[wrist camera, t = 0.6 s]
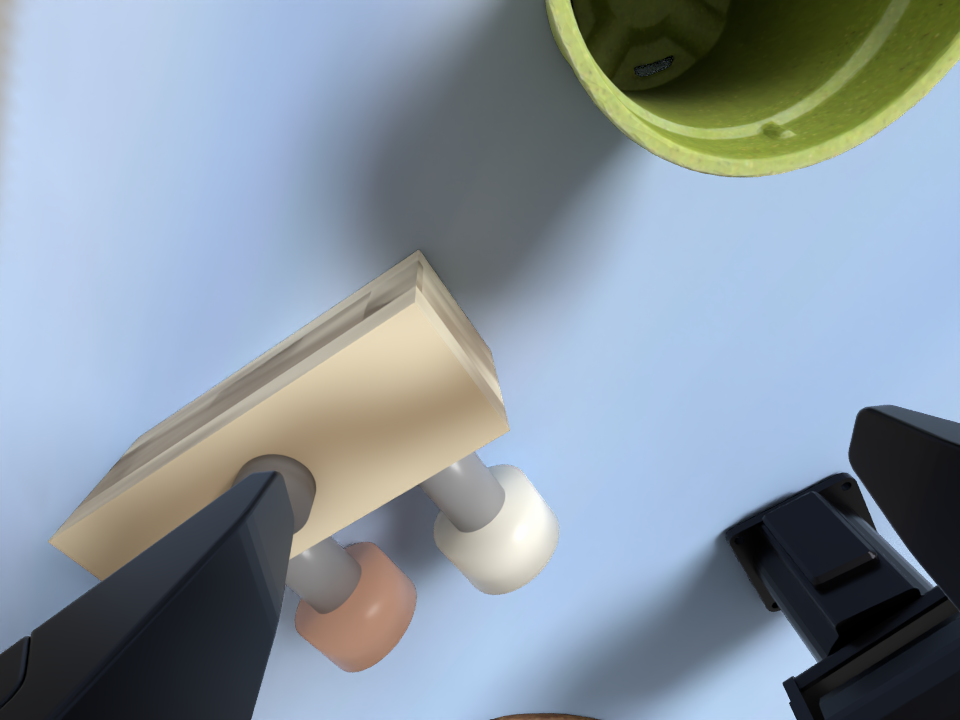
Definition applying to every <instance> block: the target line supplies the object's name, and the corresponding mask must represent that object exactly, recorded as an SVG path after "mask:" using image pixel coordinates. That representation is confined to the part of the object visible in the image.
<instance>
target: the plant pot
mask: <svg viewBox="0 0 960 720" xmlns="http://www.w3.org/2000/svg"><path fill="white" fill-rule="evenodd" d="M545 4H546V10H547V17H548V20H549V24H550V28H551V31H552V34H553V37H554V39H555V41H556V44H557V46H558V48H559V50H560V51H561V53H562V55H563V57H564V58H565V59H566V61H567V62H568V63H569V64H570V66H571V67H572V69H573V71H574V73H575V75H576V76H577V78H578V80H579V81H580V83H581V84H582V86H583V88H584V89H585V90H586V92H587V93H588V95H589V96H590V98H591V99H592V100H593V102H594V103H595V105H596V106H597V107H598V108H599V109H600V110H601V111H602V113H603V114H604V115H605V116H606V117H607V118H608V119H609V120H610V121H611V122H612V123H613V124H614V125H615V126H616V127H617V128H618V129H619V130H620V131H621V132H622V133H623V134H625V135H626V136H627V137H628V138H630V139H631V140H632V141H634V142H635V143H637V144H638V145H640V146H641V147H643V148H644V149H646V150H648V151H649V152H651V153H653V154H654V155H656V156H658V157H660V158H662V159H664V160H667V161H669V162H671V163H674V164H676V165H679V166H681V167H684V168H687V169H689V170H693V171H697V172H700V173H705V174H712V175H717V176H725V177H761V176H767V175H776V174H782V173H786V172H790V171H793V170H797V169H801V168H805V167H808V166H811V165H814V164H817V163H819V162H822V161H825V160H828V159H831V158H833V157H835V156H838V155H840V154H842V153H844V152H846V151H848V150H850V149H852V148H854V147H856V146H857V145H859V144H861V143H863V142H865V141H866V140H868V139H869V138H871V137H872V136H874V135H876V134H877V133H879V132H880V131H881V130H883V129H884V128H886V127H887V126H888V125H890V124H891V123H893V122H894V121H895V120H897V119H898V118H899V117H901V116H902V115H903V114H904V113H905V112H907V111H908V110H909V109H910V108H912V107H913V106H915V105H916V104H917V103H918V102H919V101H920V100H921V99H922V98H923V97H924V96H926V95H927V94H928V93H929V92H930V91H931V89H932V88H933V87H934V86H935V85H936V84H937V83H938V82H939V81H940V80H941V79H942V78H943V77H944V76H945V75H946V74H947V73H948V72H949V70H950V69H951V68H952V67H953V66H954V65H955V64H956V63H957V62H958V61H959V60H960V0H573V8H574V13H575V16H574V13H573V10H572V6H571V2H570V0H545ZM575 18H576V19H575ZM576 20H577V22H578V25H579V28H578V25H577V22H576ZM669 56H673V57H674V59H673V61H672V64H671V66H670V67H668V68H666V69H664V70H662V71H660V72H656V73H654V74H651V75H649V76H643V77H640V76H639V75H636V74H635V71H634V68H635V67H636V66H641V65H646V64H651V63H655V62H657V61H659V60H663V59H664V58H667V57H669Z"/></svg>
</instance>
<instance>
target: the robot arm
mask: <svg viewBox="0 0 960 720" xmlns="http://www.w3.org/2000/svg"><path fill="white" fill-rule="evenodd" d="M848 456H849V462H850V464H851V467H852V468H853V470H854V472H855V473H856V474H857V476H858V477H859V479H860V480H861V482H862V483H863V485H864V486H865V488H866V489H867V491H868V492H869V493H870V495H871V496H872V498H873V499H874V501H875V502H876V504H877V505H878V507H879V508H880V509H881V511H882V512H883V514H884V515H885V517H886V518H887V520H888V521H889V523H890V524H891V526H892V527H893V528H894V530H895V531H896V533H897V534H898V536H899V537H900V539H901V540H902V541H903V543H904V544H905V545H906V547H907V548H908V550H909V551H910V552H911V553H912V555H913V556H914V557H915V558H916V560H917V561H918V562H919V564H920V565H921V566H922V567H923V568H924V570H925V571H926V572H927V573H928V574H929V576H930V577H931V578H932V579H933V580H934V582H935V583H936V584H937V586H935V587H934V586H932V585H931V584H930V583H929V582H928V581H927V580H926V579H925V578H924V577H923V576H922V575H921V574H920V573H919V572H918V571H917V570H916V569H915V568H914V567H913V566H912V565H911V564H910V563H909V562H907V561H906V560H905V559H904V558H903V557H902V556H901V555H900V554H899V553H898V552H897V551H896V550H895V549H894V548H893V547H892V546H891V545H890V544H889V543H888V542H887V541H886V540H885V539H884V538H883V537H881V536H880V535H879V534H878V533H877V530H876V528H875V525H874V523H873V520H872V518H871V516H870V513H869V511H868V508H867V506H866V503H865V501H864V499H863V496H862V494H861V491H860V489H859V486H858V484H857V481H856V480H855V479H854V478H853V477H852V476H851V475H850V474H848V473H840V474H837V475H835V476H833V477H831V478H829V479H827V480H825V481H823V482H822V483H820V484H818V485H816V486H814V487H812V488H810V489H808V490H806V491H804V492H802V493H800V494H798V495H796V496H794V497H792V498H790V499H788V500H786V501H784V502H782V503H780V504H779V505H777V506H775V507H773V508H771V509H769V510H767V511H765V512H763V513H761V514H759V515H757V516H755V517H753V518H751V519H749V520H747V521H745V522H743V523H741V524H739V525H737V526H736V527H734V528H732V529H730V530H729V531H728V532H727V533H726V540H727V542H728V543H729V545H730V547H731V548H732V550H733V552H734V553H735V555H736V557H737V559H738V560H739V562H740V564H741V565H742V567H743V569H744V570H745V572H746V574H747V576H748V577H749V579H750V581H751V582H752V584H753V586H754V588H755V589H756V591H757V593H758V594H759V596H760V598H761V599H762V601H763V603H764V604H765V606H766V607H767V609H768V610H769V611H772V612H776V611H779V610H782V612H783V613H784V615H785V616H786V618H787V619H788V621H789V622H790V623H791V625H792V626H793V628H794V629H795V631H796V632H797V634H798V635H799V636H800V638H801V639H802V641H803V642H804V644H805V645H806V647H807V648H808V649H809V651H810V652H811V654H812V655H813V657H814V658H815V660H816V661H817V662H818V663H817V664H815V665H814V666H812V667H811V668H809V669H808V670H806V671H804V672H803V673H801V674H800V675H798V676H797V677H794V676H792V677H790V678H789V679H787V680H786V681H784V682H783V686H784V688H785V690H786V692H787V694H788V697H789V699H790V701H791V702H790V703H789V704H790V706H791V709H792V711H793V713H794V715H795V717H796V719H797V720H960V423H957V422H953V421H950V420H946V419H942V418H938V417H935V416H931V415H927V414H924V413H920V412H916V411H912V410H909V409H905V408H901V407H897V406H894V405H880V406H871V407H865V408H863V409H861V410H860V411H859V413H858V414H857V416H856V420H855V425H854V429H853V433H852V438H851V442H850V447H849V452H848ZM842 484H843V485H842ZM294 527H295V518H294V512H293V508H292V505H291V501H290V498H289V494H288V490H287V487H286V483H285V480H284V477H283V475H282V474H281V473H280V472H279V471H277V470H273V471H264V472H255V473H252V474H250V475H248V476H247V477H246V478H244V479H243V480H242V481H240V482H239V483H237V484H236V485H235V486H233V487H232V488H230V489H229V490H228V491H226V492H225V493H224V494H222V495H221V496H219V497H218V498H217V499H215V500H214V501H212V502H211V503H210V504H208V505H207V506H206V507H204V508H203V509H201V510H200V511H199V512H197V513H196V514H194V515H193V516H192V517H190V518H189V519H187V520H186V521H185V522H183V523H182V524H181V525H179V526H178V527H176V528H175V529H174V530H172V531H171V532H169V533H168V534H167V535H165V536H164V537H163V538H161V539H160V540H158V541H157V542H156V543H154V544H153V545H151V546H150V547H149V548H147V549H146V550H144V551H143V552H142V553H140V554H139V555H138V556H136V557H135V558H133V559H132V560H131V561H129V562H128V563H126V564H125V565H124V566H122V567H121V568H120V569H118V570H117V571H115V572H114V573H113V574H111V575H110V576H108V577H107V578H106V579H104V580H103V581H101V582H100V583H99V584H97V585H96V586H95V587H93V588H92V589H90V590H89V591H88V592H86V593H85V594H83V595H82V596H81V597H79V598H78V599H77V600H75V601H74V602H72V603H71V604H70V605H68V606H67V607H65V608H64V609H63V610H61V611H60V612H58V613H57V614H56V615H54V616H53V617H52V618H50V619H49V620H47V621H46V622H45V623H43V624H42V625H40V626H39V627H38V628H36V629H35V630H34V631H33V632H32V633H31V637H29V636H26V637H24V638H22V639H21V640H19V641H18V642H17V643H15V644H14V645H13V646H11V647H10V648H8V649H7V650H6V651H4V652H3V653H2V654H0V720H251V718H252V714H253V711H254V707H255V704H256V700H257V697H258V693H259V690H260V686H261V683H262V679H263V676H264V672H265V669H266V666H267V662H268V659H269V655H270V652H271V648H272V645H273V641H274V638H275V634H276V630H277V626H278V622H279V617H280V612H281V607H282V601H283V595H284V589H285V583H286V577H287V571H288V564H289V558H290V552H291V546H292V540H293V534H294ZM737 537H738V538H737Z"/></svg>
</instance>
